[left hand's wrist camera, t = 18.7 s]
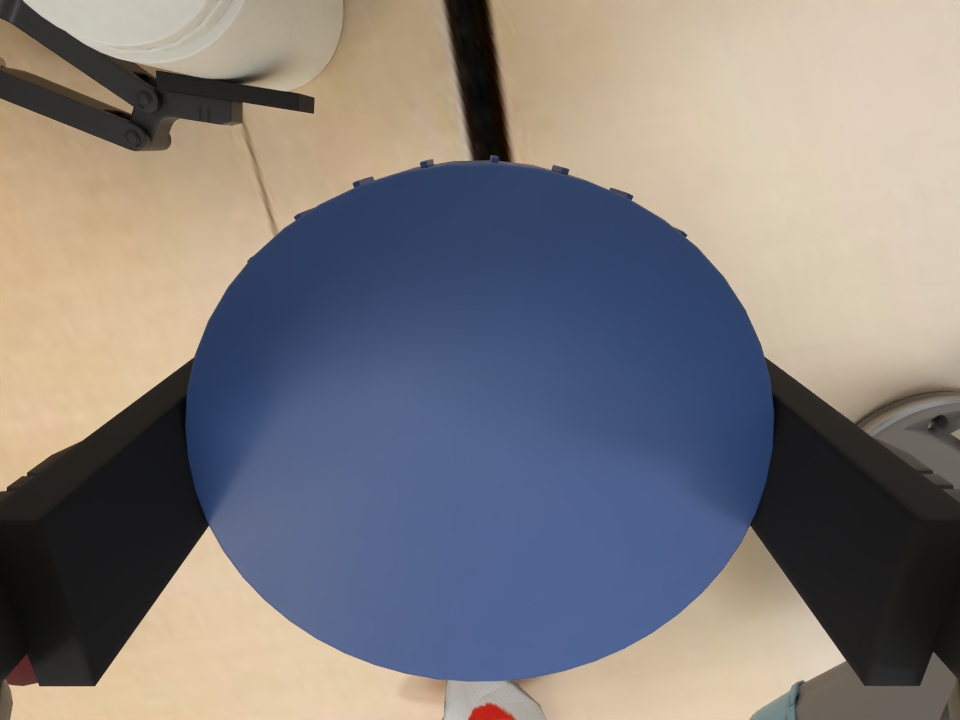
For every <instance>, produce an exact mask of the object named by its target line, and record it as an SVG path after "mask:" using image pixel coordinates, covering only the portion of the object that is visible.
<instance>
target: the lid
mask: <svg viewBox="0 0 960 720" xmlns="http://www.w3.org/2000/svg"><path fill="white" fill-rule="evenodd" d="M420 165H421V167H416V168H413V169H409V170H406V171H403V172H400V173H397V174H393V175H390V176H387V177H384V178H380V179H377V180H374V178H373V177H369V178H365V179H362V180H359V181H356V182H354V183H353V186H354V189H351V190H349V191H347V192H345V193H343V194H341V195H339V196H337V197H335V198H332V199H330V200H328V201H326V202H324V203H322V204H320V205H318V206H317V207H315V208H312V209H310V210H307V211H304V212H302V213H299V214H297V215H296V216H295V217H294V218H295V220H296V221H294V222H293V223H291V224H290V225H288V226H287V227H285V228H284V229H283V230H282V231H281V232H280V233H278V234H277V235H276V236H275V237H274V238H273V239H272V240H271V241H270V242H269V243H267V244H266V245H265V246H264V247H263V248H262V249H261V250H260V251H259V252H257V253H256V254H255V255H254V256H253V257H251V258H250V259H249V260H248V261H247V262H248V263H247V265H246V266H245V267H244V268H243V270H242V271H241V272H240V273H239V274H238V276H237V277H236V278H235V279H234V281H233V282H232V283H231V284H230V286H229V287H228V288H227V290H226V292H225V293H224V295H223V297H222V299H221V300H220V302H219V304H218V305H217V307H216V309H215V310H214V312H213V314H212V316H211V317H210V319H209V321H208V323H207V326H206V328H205V331H204V334H203V336H202V339H201V341H200V344H199V346H198V349H197V351H196V354H195V357H194V362H193V366H192V371H191V375H190V380H189V384H188V389H187V401H186V416H185V433H186V444H187V455H188V460H189V465H190V469H191V474H192V478H193V483H194V488H195V492H196V495H197V497H198V500H199V502H200V505H201V507H202V510H203V512H204V515H205V517H206V520H207V522H208V524H209V526H210V528H211V530H212V531H213V533H214V535H215V537H216V539H217V540H218V542H219V544H220V546H221V548H222V549H223V551H224V553H225V554H226V555H227V557H228V558H229V559H230V561H231V562H232V563H233V565H234V566H235V567H236V569H237V570H238V571H239V573H240V574H241V575H242V577H243V578H244V579H245V580H246V581H247V582H248V583H249V584H250V585H251V586H252V587H253V588H254V589H255V590H256V592H257V593H258V594H259V595H260V596H261V597H262V598H263V599H264V600H265V601H266V602H267V603H269V604H270V605H271V606H272V607H273V608H275V609H276V610H277V611H278V612H279V613H281V614H282V615H283V616H284V617H286V618H287V619H288V620H289V621H291V622H292V623H294V624H295V625H297V626H298V627H300V628H301V629H303V630H304V631H306V632H307V633H309V634H310V635H312V636H313V637H315V638H316V639H318V640H320V641H322V642H324V643H326V644H328V645H330V646H332V647H334V648H336V649H338V650H340V651H342V652H343V653H346V654H348V655H351V656H353V657H356V658H358V659H361V660H363V661H366V662H369V663H371V664H374V665H377V666H380V667H384V668H388V669H391V670H395V671H398V672H402V673H405V674H411V675H417V676H422V677H428V678H433V679H442V680H454V681H467V682H480V681H507V680H516V679H525V678H533V677H538V676H543V675H547V674H552V673H557V672H562V671H566V670H569V669H572V668H575V667H578V666H581V665H585V664H588V663H591V662H594V661H597V660H599V659H601V658H603V657H606V656H608V655H610V654H613V653H615V652H617V651H620V650H622V649H624V648H626V647H628V646H630V645H631V644H633V643H635V642H637V641H639V640H640V639H642V638H644V637H646V636H648V635H649V634H651V633H653V632H654V631H655V630H657V629H658V628H660V627H661V626H662V625H664V624H665V623H667V622H668V621H670V620H671V619H672V618H674V617H675V616H677V615H678V614H679V613H680V612H681V611H682V610H684V609H685V608H686V607H687V606H688V605H689V604H690V603H691V602H692V601H694V600H695V599H696V598H697V597H698V596H699V595H700V594H701V593H702V592H703V591H704V590H705V589H706V588H707V587H708V586H709V584H710V583H711V582H712V581H713V580H714V579H715V578H716V576H717V575H718V574H719V573H720V572H721V571H722V570H723V568H724V567H725V565H726V564H727V563H728V561H729V560H730V558H731V557H732V555H733V554H734V552H735V551H736V549H737V548H738V546H739V545H740V543H741V542H742V540H743V538H744V536H745V534H746V532H747V530H748V528H749V526H750V524H751V522H752V520H753V518H754V516H755V514H756V512H757V509H758V506H759V503H760V500H761V497H762V494H763V491H764V488H765V485H766V480H767V476H768V471H769V466H770V461H771V456H772V451H773V437H774V407H773V398H772V389H771V381H770V376H769V372H768V369H767V365H766V361H765V358H764V354H763V350H762V347H761V343H760V341H759V339H758V337H757V335H756V332H755V330H754V328H753V326H752V324H751V321H750V319H749V317H748V315H747V312H746V310H745V309H744V307H743V305H742V304H741V302H740V301H739V299H738V298H737V296H736V295H735V293H734V292H733V290H732V289H731V287H730V286H729V284H728V282H727V281H726V279H725V278H724V277H723V275H722V274H721V273H720V272H719V271H718V270H717V269H716V268H715V267H714V265H713V264H712V263H711V262H710V261H709V260H708V259H707V258H706V257H705V255H704V254H703V253H702V252H701V251H700V250H699V249H698V248H697V247H696V246H695V245H694V244H693V243H691V242H690V241H689V240H688V239H687V238H685V237H686V236H687V234H685V233H684V232H683V231H681V230H679V229H676V228H674V227H672V226H671V225H670V224H668V223H667V222H666V221H665V220H663V219H662V218H660V217H658V216H657V215H655V214H653V213H652V212H650V211H648V210H647V209H645V208H643V207H642V206H640V205H638V204H637V203H635V202H633V201H632V198H633V196H632V195H630V194H629V193H626V192H623V191H620V190H617V189H613V188H610V190H607V189H605V188H603V187H600V186H598V185H596V184H593V183H591V182H588V181H586V180H583V179H580V178H577V177H574V176H571V175H568V172H569V169H566V168H563V167H559V166H555V165H553V167H552V170H549V169H545V168H541V167H537V166H534V165H527V164H519V163H510V162H502V161H499V157H497V156H490V161H453V162H447V163H441V164H434V162H433V159H431V160H426V161H423V162H420Z"/></svg>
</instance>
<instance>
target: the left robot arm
mask: <svg viewBox="0 0 960 720" xmlns="http://www.w3.org/2000/svg"><path fill="white" fill-rule="evenodd" d="M764 358H765V357H764ZM765 361H766V365H767V369H768V372H769V376H770V381H771V389H772V398H773V407H774V437H773V451H772V456H771V461H770V466H769V471H768V476H767V480H766V485H765V488H764V491H763V494H762V497H761V500H760V503H759V506H758V509H757V512H756V514H755V516H754V518H753V520H752V522H751V524H750V525H751V527H752V528H753V530H754V531H755V532H756V534H757V535H758V537H759V538H760V539H761V541H762V542H763V544H764V545H765V547H766V548H767V549H768V551H769V552H770V554H771V555H772V556H773V558H774V559H775V561H776V562H777V563H778V565H779V566H780V568H781V569H782V570H783V572H784V573H785V575H786V576H787V578H788V579H789V580H790V582H791V583H792V585H793V586H794V587H795V589H796V590H797V592H798V593H799V594H800V596H801V597H802V599H803V600H804V601H805V603H806V604H807V606H808V607H809V608H810V610H811V611H812V613H813V614H814V616H815V617H816V618H817V620H818V621H819V623H820V624H821V625H822V627H823V628H824V630H825V631H826V632H827V634H828V635H829V637H830V638H831V639H832V641H833V642H834V644H835V645H836V646H837V648H838V649H839V651H840V652H841V654H842V655H843V656H844V658H845V659H846V661H845V662H843V663H842V664H840V665H838V666H836V667H834V668H832V669H830V670H828V671H826V672H824V673H823V674H821V675H819V676H817V677H815V678H813V679H811V680H809V681H807V682H804V681H799V682H797V683H795V684H794V685H793V686H792V687H791V690H790V691H789V692H787V693H785V694H784V695H782V696H781V697H779V698H777V699H776V700H774V701H773V702H771V703H769V704H768V705H766V706H764V707H763V708H761V709H760V710H758V711H757V712H755V713H754V714H753V716H752V717H751V718H750V720H960V392H932V393H925V394H920V395H916V396H912V397H908V398H905V399H902V400H899V401H897V402H894V403H892V404H890V405H888V406H886V407H884V408H882V409H880V410H878V411H876V412H875V413H873V414H871V415H870V416H868V417H867V418H865V419H864V420H862V421H861V422H860V423H858V424H857V425H855V424H854V423H853V422H851V421H850V420H849V419H847V418H846V417H845V416H843V415H842V414H841V413H839V412H838V411H837V410H835V409H834V408H832V407H831V406H830V405H828V404H827V403H826V402H824V401H823V400H822V399H820V398H819V397H818V396H816V395H815V394H814V393H812V392H811V391H810V390H808V389H807V388H806V387H804V386H803V385H802V384H800V383H799V382H798V381H796V380H795V379H794V378H792V377H791V376H790V375H788V374H787V373H786V372H784V371H783V370H782V369H780V368H779V367H778V366H776V365H775V364H773V363H772V362H771V361H769V360H768V359H767V358H765ZM193 362H194V358H193V359H191V360H190V361H189V362H187V363H186V364H185V365H183V366H182V367H181V368H179V369H178V370H177V371H175V372H174V373H173V374H171V375H170V376H169V377H167V378H166V379H165V380H163V381H162V382H161V383H159V384H158V385H157V386H155V387H154V388H153V389H151V390H150V391H149V392H147V393H146V394H145V395H143V396H142V397H140V398H139V399H138V400H136V401H135V402H134V403H132V404H131V405H130V406H128V407H127V408H126V409H124V410H123V411H122V412H120V413H119V414H118V415H116V416H115V417H114V418H112V419H111V420H110V421H108V422H107V423H106V424H104V425H103V426H102V427H100V428H99V429H98V430H96V431H95V432H94V433H92V434H91V435H90V436H88V437H87V438H85V439H84V440H83V441H81V442H79V443H77V444H75V445H72V446H70V447H68V448H66V449H64V450H62V451H59V452H57V453H55V454H53V455H51V456H50V457H48V458H47V459H45V460H44V461H43V462H41V463H40V464H39V465H37V466H36V467H34V468H33V469H32V470H30V471H29V472H28V473H27V476H22V477H21V478H19V479H18V480H17V481H15V482H14V483H12V484H11V485H10V486H8V487H7V491H1V492H0V720H10V717H11V711H12V705H13V701H12V695H11V690H10V688H9V685H8V683H7V680H6V677H7V676H8V675H9V674H10V673H11V672H12V670H13V669H14V668H15V667H16V666H17V665H18V664H19V663H20V661H21V660H22V659H23V658H24V657H25V656H26V655H28V658H29V660H30V663H31V665H32V668H33V671H34V673H35V676H36V678H37V681H38V683H39V686H95V685H96V684H97V683H98V681H99V680H100V678H101V677H102V675H103V674H104V673H105V671H106V670H107V668H108V667H109V666H110V664H111V663H112V661H113V660H114V659H115V657H116V656H117V654H118V653H119V652H120V650H121V649H122V647H123V646H124V645H125V643H126V642H127V640H128V639H129V637H130V636H131V635H132V633H133V632H134V630H135V629H136V628H137V626H138V625H139V623H140V622H141V621H142V619H143V618H144V616H145V615H146V614H147V612H148V611H149V609H150V608H151V607H152V605H153V604H154V602H155V601H156V599H157V598H158V597H159V595H160V594H161V592H162V591H163V590H164V588H165V587H166V585H167V584H168V583H169V581H170V580H171V578H172V577H173V576H174V574H175V573H176V571H177V570H178V569H179V567H180V566H181V564H182V563H183V561H184V560H185V559H186V557H187V556H188V554H189V553H190V552H191V550H192V549H193V547H194V546H195V545H196V543H197V542H198V540H199V539H200V538H201V536H202V535H203V533H204V532H205V531H206V529H207V528H208V526H209V524H208V522H207V520H206V517H205V515H204V512H203V510H202V507H201V505H200V502H199V500H198V497H197V495H196V492H195V488H194V483H193V478H192V474H191V469H190V465H189V460H188V455H187V444H186V433H185V416H186V401H187V389H188V384H189V380H190V375H191V371H192V366H193Z"/></svg>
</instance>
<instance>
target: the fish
mask: <svg viewBox="0 0 960 720" xmlns="http://www.w3.org/2000/svg"><path fill="white" fill-rule="evenodd" d="M442 720H547V719H546V717H545V715H544V713H543V711H542V709H541V707H540V705H539V704H538V703H537V702H536V701H535V700H534V699H533V698H531V697H530V696H529V695H528V694H527V693H526V692H525V691H524V690H523V689H521V688H520V687H519V686H518V685H517V684H516V683H514V682H513V681H511V680H507V681H480V682H467V681H454V680H447V683H446V693H445V706H444V717H443V719H442Z"/></svg>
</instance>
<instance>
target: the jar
mask: <svg viewBox="0 0 960 720" xmlns="http://www.w3.org/2000/svg"><path fill="white" fill-rule="evenodd" d="M23 1H24V2H25V3H26V4H27V5H28V6H30V7H31V8H32V9H33V10H34V11H36V12H37V13H38V14H39V15H41V16H42V17H43V18H45V19H46V20H48V21H49V22H51V23H52V24H54V25H55V26H57V27H59V28H61V29H63V30H65V31H66V32H67V33H69V34H70V35H72V36H73V37H75V38H76V39H78V40H79V41H81V42H82V43H84V44H85V45H87V46H89V47H91V48H93V49H95V50H97V51H99V52H101V53H104V54H106V55H109V56H112V57H115V58H117V59H121V60H126V61H130V62H134V63H139V64H143V65H147V66H152V67H156V68H160V69H165V70H169V71H173V72H178V73H182V74H186V75H191V76H195V77H199V78H206V79H212V80H218V81H224V82H231V83H237V84H243V85H249V86H255V87H261V88H268V89H274V90H280V91H290V90H293V89H296V88H298V87H301V86H303V85H305V84H306V83H308V82H310V81H311V80H312V79H314V78H315V77H316V76H318V74H319V73H320V72H321V71H322V70H323V69H324V68H325V67H326V65H327V64H328V63H329V61H330V60H331V58H332V56H333V54H334V52H335V50H336V48H337V45H338V43H339V40H340V36H341V32H342V26H343V17H344V4H343V0H23Z"/></svg>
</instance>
